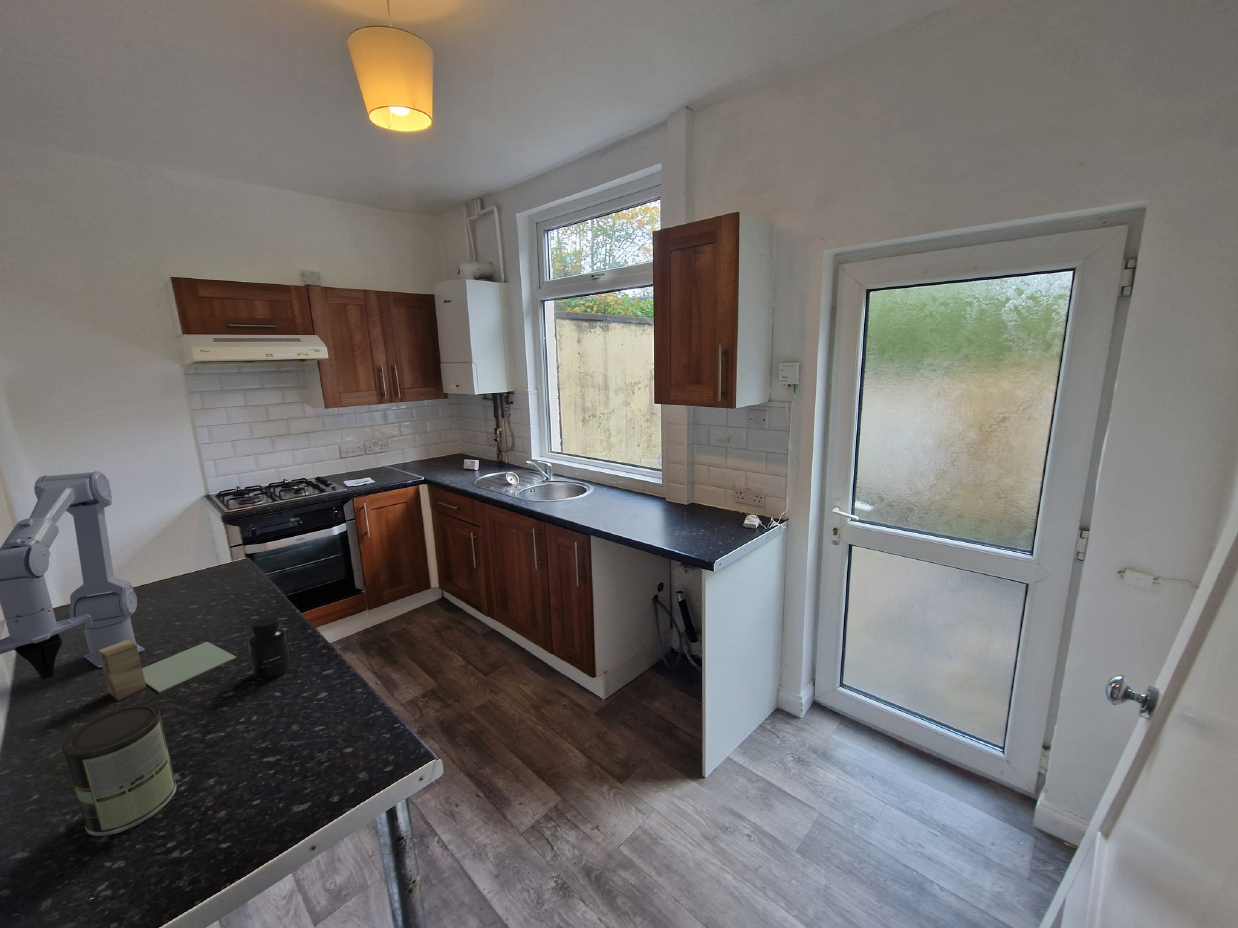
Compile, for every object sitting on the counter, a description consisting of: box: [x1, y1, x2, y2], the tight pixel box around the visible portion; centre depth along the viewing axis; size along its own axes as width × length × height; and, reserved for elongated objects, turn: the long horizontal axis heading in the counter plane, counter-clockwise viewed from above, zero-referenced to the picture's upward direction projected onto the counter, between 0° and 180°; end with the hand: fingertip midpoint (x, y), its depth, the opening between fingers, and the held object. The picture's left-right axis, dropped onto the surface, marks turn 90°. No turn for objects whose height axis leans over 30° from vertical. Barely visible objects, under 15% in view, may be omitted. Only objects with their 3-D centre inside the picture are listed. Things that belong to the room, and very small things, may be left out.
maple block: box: [99, 640, 147, 701], centre depth 103 cm, size 4×4×10 cm
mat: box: [142, 641, 237, 694], centre depth 112 cm, size 14×14×1 cm
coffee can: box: [61, 703, 178, 837], centre depth 75 cm, size 10×10×14 cm
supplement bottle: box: [247, 616, 291, 681], centre depth 109 cm, size 7×7×12 cm
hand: (46, 676), depth 94 cm, fingers closed
